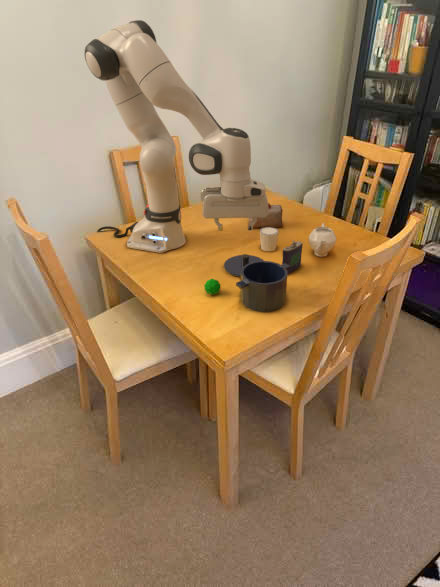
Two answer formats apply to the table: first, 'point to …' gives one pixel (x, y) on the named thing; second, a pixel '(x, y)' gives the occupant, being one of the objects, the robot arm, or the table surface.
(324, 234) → the teapot
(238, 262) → the pot lid
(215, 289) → the polyhedron
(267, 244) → the tan cup
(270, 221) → the food item
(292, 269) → the flask
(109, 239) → the table surface
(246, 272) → the pot
